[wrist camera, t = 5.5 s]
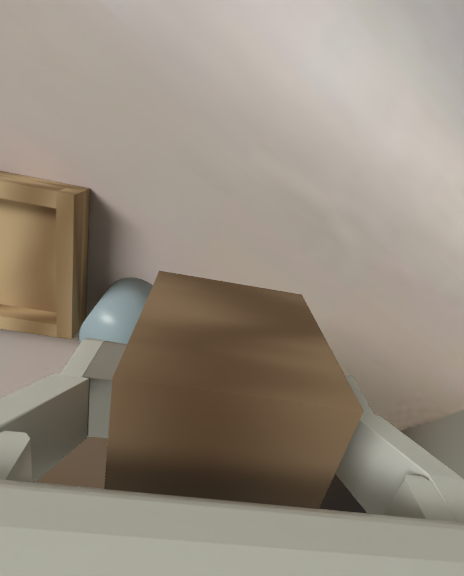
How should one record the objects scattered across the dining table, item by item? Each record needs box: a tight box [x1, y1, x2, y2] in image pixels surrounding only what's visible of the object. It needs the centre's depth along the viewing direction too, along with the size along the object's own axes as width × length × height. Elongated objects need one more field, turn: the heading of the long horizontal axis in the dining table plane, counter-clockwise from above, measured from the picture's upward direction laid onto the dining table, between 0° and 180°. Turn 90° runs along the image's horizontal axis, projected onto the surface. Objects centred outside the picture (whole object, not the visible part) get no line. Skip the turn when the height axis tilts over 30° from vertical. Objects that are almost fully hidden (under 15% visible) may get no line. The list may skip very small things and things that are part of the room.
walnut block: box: [105, 271, 364, 509], centre depth 9 cm, size 4×4×5 cm
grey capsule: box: [79, 278, 153, 344], centre depth 23 cm, size 4×4×5 cm
